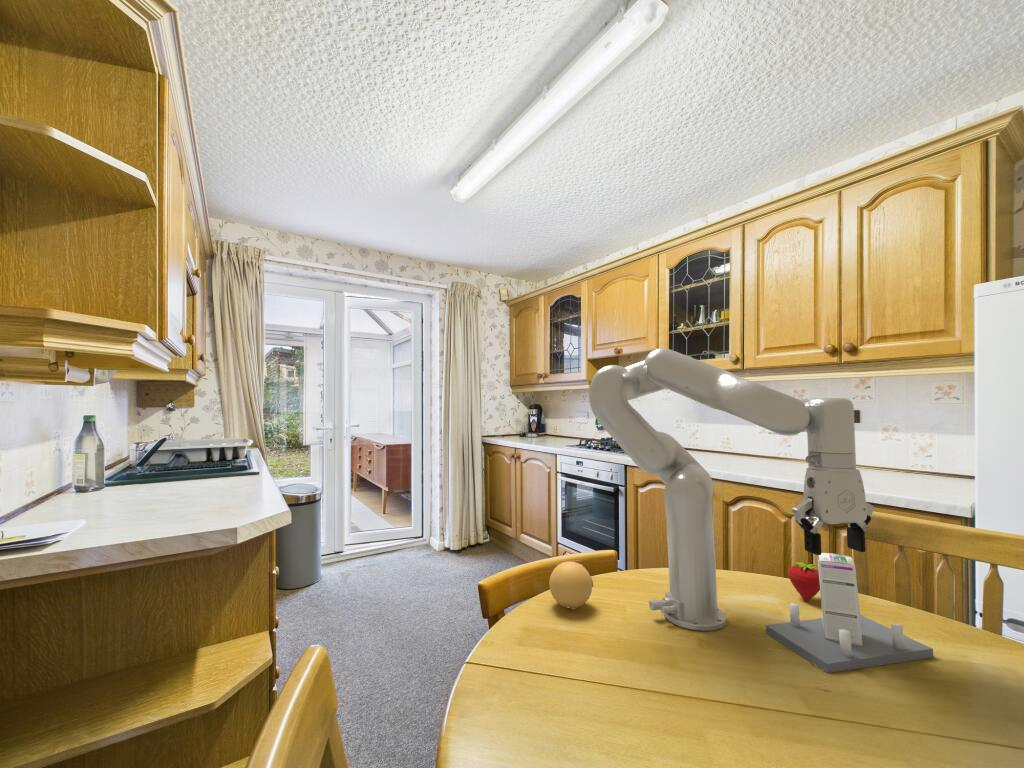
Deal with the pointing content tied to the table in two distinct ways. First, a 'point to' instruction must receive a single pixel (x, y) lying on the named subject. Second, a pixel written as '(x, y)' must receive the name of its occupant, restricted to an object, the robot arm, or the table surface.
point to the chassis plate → (831, 648)
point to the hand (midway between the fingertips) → (834, 551)
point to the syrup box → (839, 596)
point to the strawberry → (805, 579)
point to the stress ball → (570, 584)
